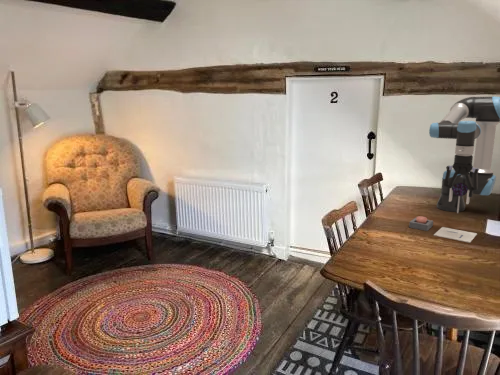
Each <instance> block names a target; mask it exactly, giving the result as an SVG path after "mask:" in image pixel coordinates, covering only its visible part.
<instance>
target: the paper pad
mask: <svg viewBox="0 0 500 375" xmlns="http://www.w3.org/2000/svg"><path fill="white" fill-rule="evenodd" d="M477 235H478V233H476V232H472V231H465V230H459V229H454V228H450V227H445V226H442V227H440V228H439V229H438V230H437V231H436V232H435V233H434V234H433V236H434V237H440V238H445V239H450V240H455V241H459V242H465V243H471V242H472V241H473V239H475V237H476V236H477Z"/></svg>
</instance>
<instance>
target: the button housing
mask: <svg viewBox="0 0 500 375" xmlns="http://www.w3.org/2000/svg"><path fill="white" fill-rule="evenodd" d="M408 226H409V227H408V228H410V229H416V230H420V231H425V232H428V231H429V230H430V229H431V228H432V227H433V226H434V220H432V219H431V220H430V219H427V223H426V224H423V223H417V222H416V217H414V218H413V219H412V220H410V221H409V224H408Z"/></svg>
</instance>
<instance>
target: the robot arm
mask: <svg viewBox="0 0 500 375" xmlns="http://www.w3.org/2000/svg"><path fill="white" fill-rule="evenodd" d="M464 119H475V121H474V120H464ZM499 123H500V96H495V95H494V96H469V97H465V98H462V99H460V100H458V101H457V102H455V103H454V104H452V105H451V107H450V109H449V112H448V113H447V114H446V115H445V116H444V117H443V118H442V120H440V121H439V122H432V123H431V124H430V126H429V130H428V132H429V134H428V135H429V137H430V138H432V139H433V138H434V139H447V140H449V139H450V140H456V141H455V147H454V148H455V149H454V150H455V151H454V154H455V155H454V157H453V158H454V160H453V165H447V166H446V170H444V171H443V173H442V177H441V178H442V179H441V180H442V181H441V191H440V196H439V199H437V202H436V208H437V209H439V210H441V211H447V212H456V213H457V207H458V198H459V196H457V195H455V194H454V193H453V190H452V187H453V186H454V185H455V184H457V183H464V184H465V185H466V186H467V187H468V191H467V193H466V200H465V199H464V196H460V203H459V212H463V211H465V210H466V205H469V203H470V198H472V197H473V195H480V196H489V195H491V194H492V192H493V190H494V187H495V184H496V181H497V180H496V179H497V176H496V175H495V174H494V171H493V170H492V169H491V167H492V161H493V153H494V152H493V151H494V145H495V139H496V129H497V125H499ZM475 141H476V142H475ZM465 201H466V202H465Z"/></svg>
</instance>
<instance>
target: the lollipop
mask: <svg viewBox="0 0 500 375" xmlns="http://www.w3.org/2000/svg"><path fill="white" fill-rule="evenodd" d="M452 190H453V193H454V194H455V195H457V196H459V198H458V207H457V212H456V214H459V213H460V211H459V203H460V196H463V197H464V196H465V195H467V191H468V187H467V186H466V185H465V184H464V183H457V184H455V185H454V186H453V187H452Z"/></svg>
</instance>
